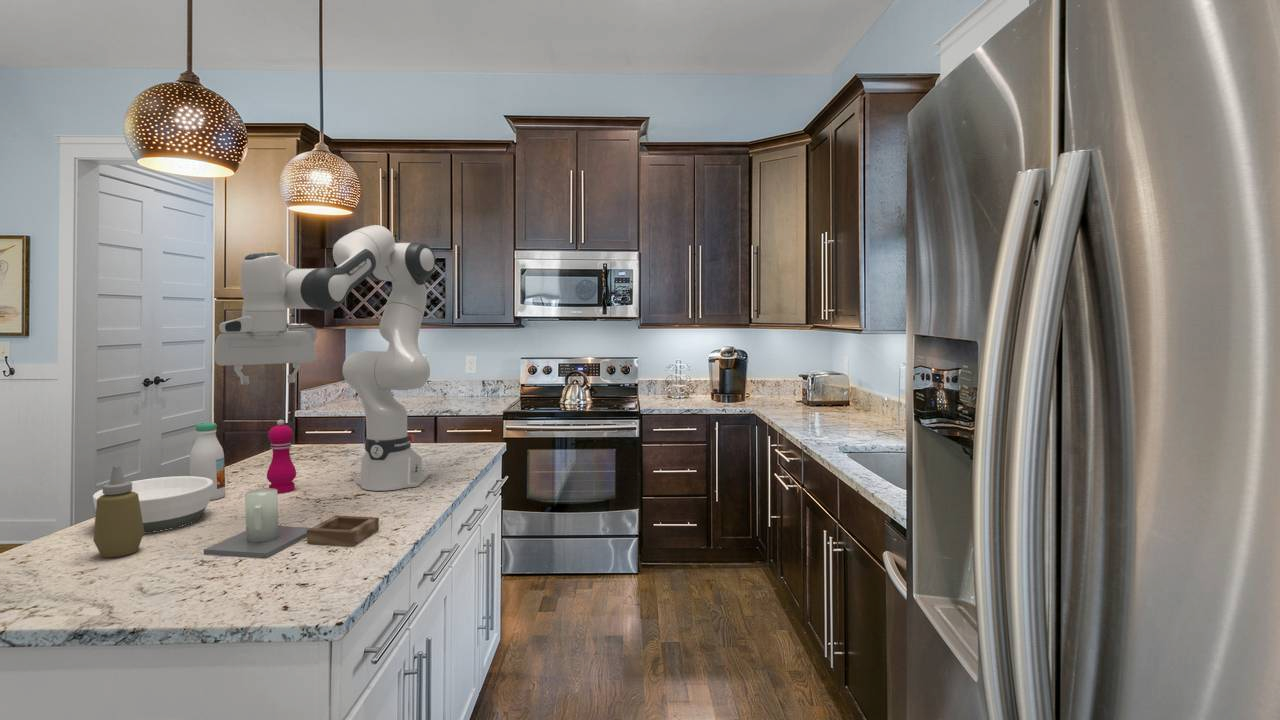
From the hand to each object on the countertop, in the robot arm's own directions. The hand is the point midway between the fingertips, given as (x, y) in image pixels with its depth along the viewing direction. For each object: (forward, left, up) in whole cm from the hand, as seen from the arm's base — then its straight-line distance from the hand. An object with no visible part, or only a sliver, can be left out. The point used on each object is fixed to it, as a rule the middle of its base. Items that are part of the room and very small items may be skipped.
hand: (268, 383), depth 148 cm
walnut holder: (+6, +21, -33) cm, 40 cm away
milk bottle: (-17, -32, -33) cm, 49 cm away
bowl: (+3, -28, -34) cm, 43 cm away
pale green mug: (+13, +7, -32) cm, 35 cm away
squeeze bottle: (+22, -18, -33) cm, 44 cm away
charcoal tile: (+12, +6, -33) cm, 36 cm away
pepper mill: (-27, -18, -33) cm, 47 cm away
